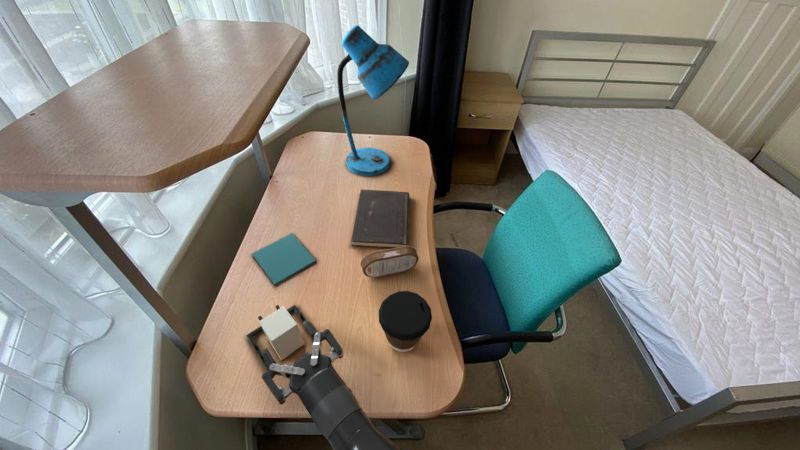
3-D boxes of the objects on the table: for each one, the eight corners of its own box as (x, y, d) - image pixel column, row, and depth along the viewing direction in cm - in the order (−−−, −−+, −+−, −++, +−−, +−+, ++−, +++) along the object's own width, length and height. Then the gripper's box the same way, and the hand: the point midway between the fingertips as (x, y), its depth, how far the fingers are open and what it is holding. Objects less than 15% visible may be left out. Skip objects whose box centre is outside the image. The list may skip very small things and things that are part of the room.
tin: (414, 262, 89) (417, 241, 83) (418, 271, 87) (421, 250, 81) (360, 273, 86) (359, 252, 80) (363, 282, 84) (362, 262, 78)
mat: (274, 285, 82) (274, 284, 81) (252, 255, 88) (251, 253, 88) (316, 261, 88) (316, 260, 87) (292, 234, 94) (291, 233, 94)
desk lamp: (400, 179, 115) (409, 38, 84) (339, 173, 116) (325, 32, 84) (404, 154, 127) (412, 22, 95) (348, 149, 127) (338, 16, 96)
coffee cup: (417, 312, 78) (422, 283, 70) (433, 356, 71) (440, 329, 62) (373, 322, 76) (372, 294, 67) (384, 369, 68) (385, 343, 60)
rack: (267, 371, 67) (260, 359, 63) (247, 337, 72) (239, 324, 68) (317, 336, 73) (313, 323, 69) (295, 306, 78) (290, 292, 74)
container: (281, 360, 69) (271, 341, 62) (269, 341, 72) (258, 321, 65) (304, 344, 71) (297, 324, 65) (292, 326, 74) (283, 305, 68)
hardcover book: (351, 246, 92) (350, 241, 90) (361, 194, 108) (360, 189, 107) (407, 249, 92) (408, 244, 91) (408, 197, 108) (409, 191, 107)
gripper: (298, 439, 56) (256, 367, 64) (364, 382, 63) (319, 324, 71) (289, 428, 51) (245, 351, 59) (362, 367, 58) (314, 306, 66)
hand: (286, 336), depth 65 cm, fingers open, 8 cm apart
